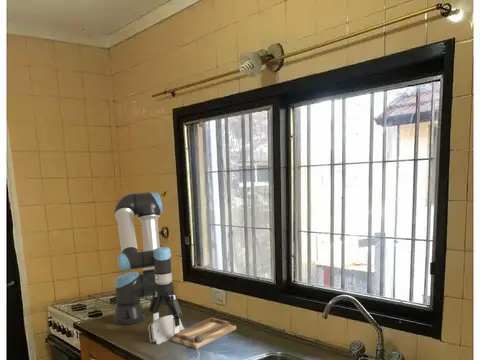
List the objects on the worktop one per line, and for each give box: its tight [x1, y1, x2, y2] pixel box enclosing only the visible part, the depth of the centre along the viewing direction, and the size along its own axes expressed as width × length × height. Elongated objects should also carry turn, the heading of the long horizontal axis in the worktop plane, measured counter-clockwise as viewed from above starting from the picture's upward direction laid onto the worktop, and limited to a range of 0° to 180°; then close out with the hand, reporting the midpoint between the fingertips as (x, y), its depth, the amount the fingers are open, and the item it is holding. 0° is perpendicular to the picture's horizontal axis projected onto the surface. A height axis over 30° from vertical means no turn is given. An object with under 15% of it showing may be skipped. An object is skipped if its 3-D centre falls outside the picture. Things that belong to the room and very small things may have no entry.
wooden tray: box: [170, 316, 237, 350], centre depth 181 cm, size 16×25×4 cm, turn 140°
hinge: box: [147, 314, 186, 345], centre depth 181 cm, size 17×5×10 cm, turn 138°
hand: (166, 330), depth 180 cm, fingers open, 13 cm apart
